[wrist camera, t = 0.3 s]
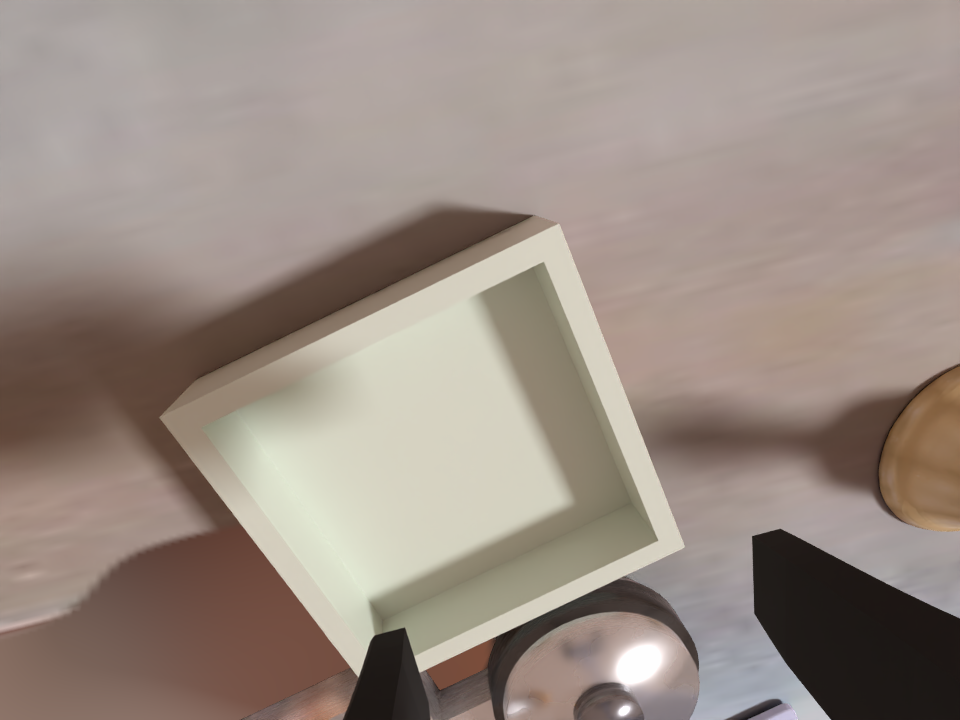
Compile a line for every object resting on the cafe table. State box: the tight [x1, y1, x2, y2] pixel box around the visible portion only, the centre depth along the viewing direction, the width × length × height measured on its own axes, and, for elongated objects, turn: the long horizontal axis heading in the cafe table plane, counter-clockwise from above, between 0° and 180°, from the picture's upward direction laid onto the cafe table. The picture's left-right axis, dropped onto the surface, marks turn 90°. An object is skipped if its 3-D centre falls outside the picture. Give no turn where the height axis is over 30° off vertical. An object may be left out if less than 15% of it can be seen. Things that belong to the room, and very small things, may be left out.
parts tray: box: [159, 215, 685, 678], centre depth 19 cm, size 13×13×3 cm
